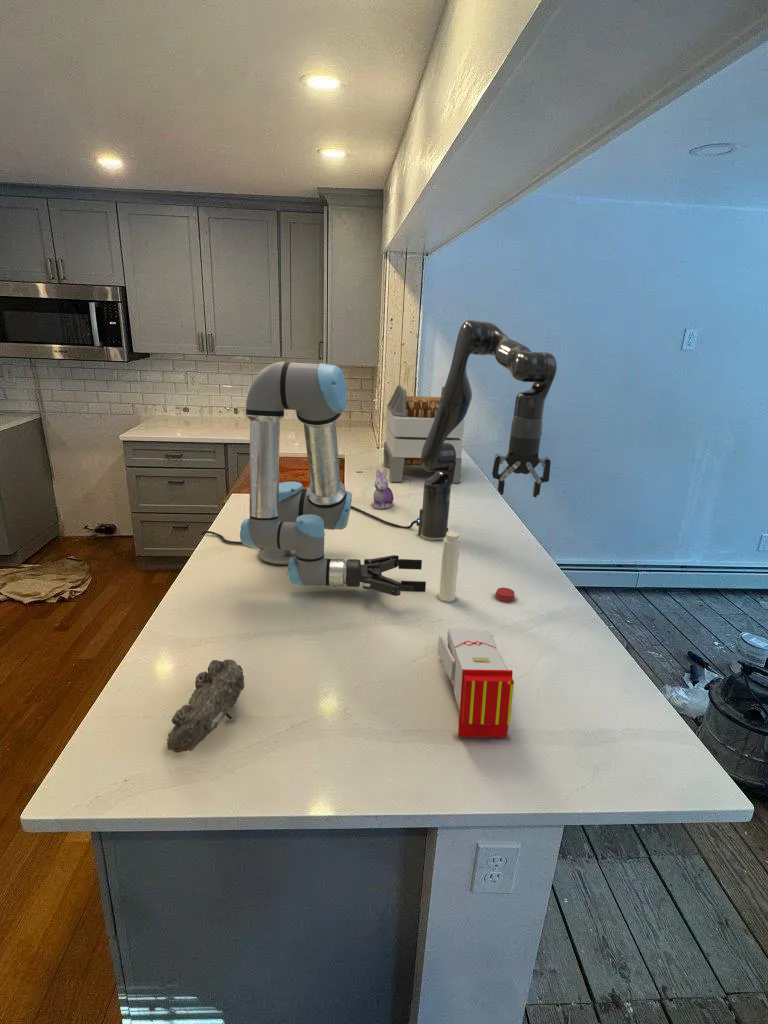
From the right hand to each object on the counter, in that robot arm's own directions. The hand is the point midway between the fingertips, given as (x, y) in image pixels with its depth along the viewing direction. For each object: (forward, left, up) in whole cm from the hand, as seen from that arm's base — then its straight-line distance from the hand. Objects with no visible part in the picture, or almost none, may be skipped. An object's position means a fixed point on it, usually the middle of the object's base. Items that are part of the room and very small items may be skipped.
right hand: (517, 495), depth 148 cm
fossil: (-24, -81, -30) cm, 90 cm away
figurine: (-71, +40, -30) cm, 87 cm away
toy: (+11, -44, -30) cm, 54 cm away
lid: (0, 0, -29) cm, 29 cm away
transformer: (-85, +92, -30) cm, 129 cm away
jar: (-13, -10, -30) cm, 34 cm away
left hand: (-18, -14, -24) cm, 33 cm away
